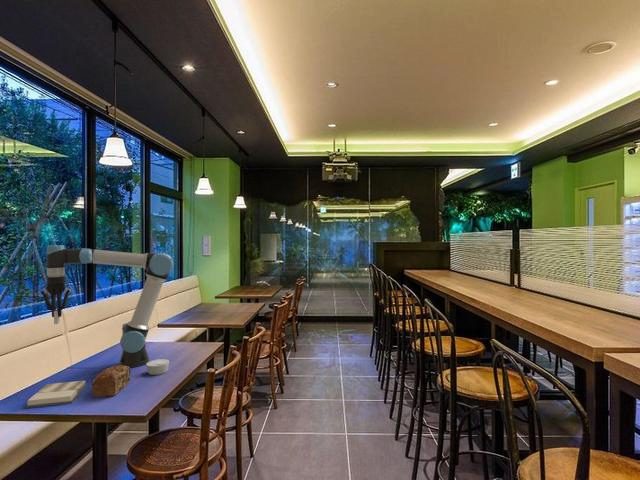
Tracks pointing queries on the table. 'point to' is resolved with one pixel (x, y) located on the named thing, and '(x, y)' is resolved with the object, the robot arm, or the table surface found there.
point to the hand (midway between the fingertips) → (56, 323)
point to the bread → (111, 381)
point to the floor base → (54, 398)
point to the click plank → (63, 386)
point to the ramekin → (157, 366)
